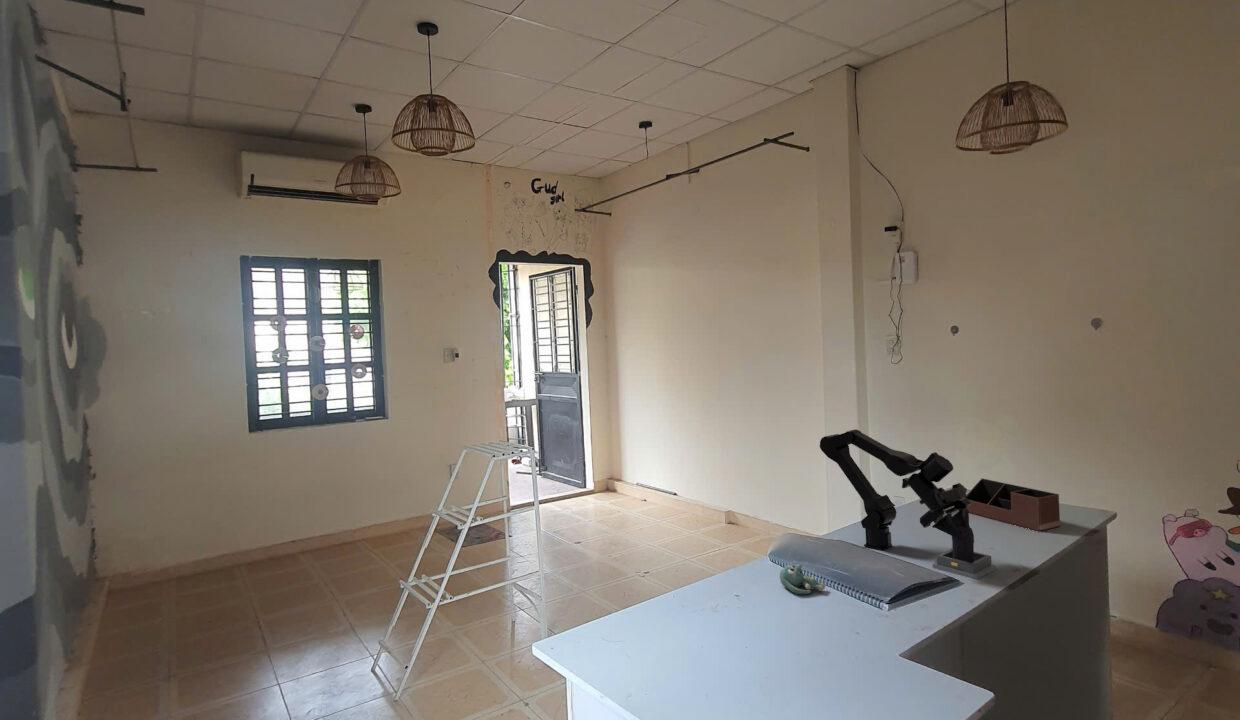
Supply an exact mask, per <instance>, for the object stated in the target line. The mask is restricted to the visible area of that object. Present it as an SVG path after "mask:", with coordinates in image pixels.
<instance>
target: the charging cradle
mask: <svg viewBox="0 0 1240 720" xmlns="http://www.w3.org/2000/svg"><path fill="white" fill-rule="evenodd" d="M933 567H934V569H936V568H937V570H941V571H945V572H949V573H952V574H956V575H959V576H963V577H966V578H970V579H975V580H979V579H981V578H982V577H984V576H986V575H988V574H989V573H992V572H993V571H995V570H997V564H993V563H992V556H991V555H988V554H984V553H982V552H981V553H980V552H976V551H974V558H973V562H972V563H970V562H965V561H961V560H957V559H953V551H952V548H951V549H948V550H946V551H944V552H942V553H940V554H937V555H936V562H934V563H932V568H933Z"/></svg>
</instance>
